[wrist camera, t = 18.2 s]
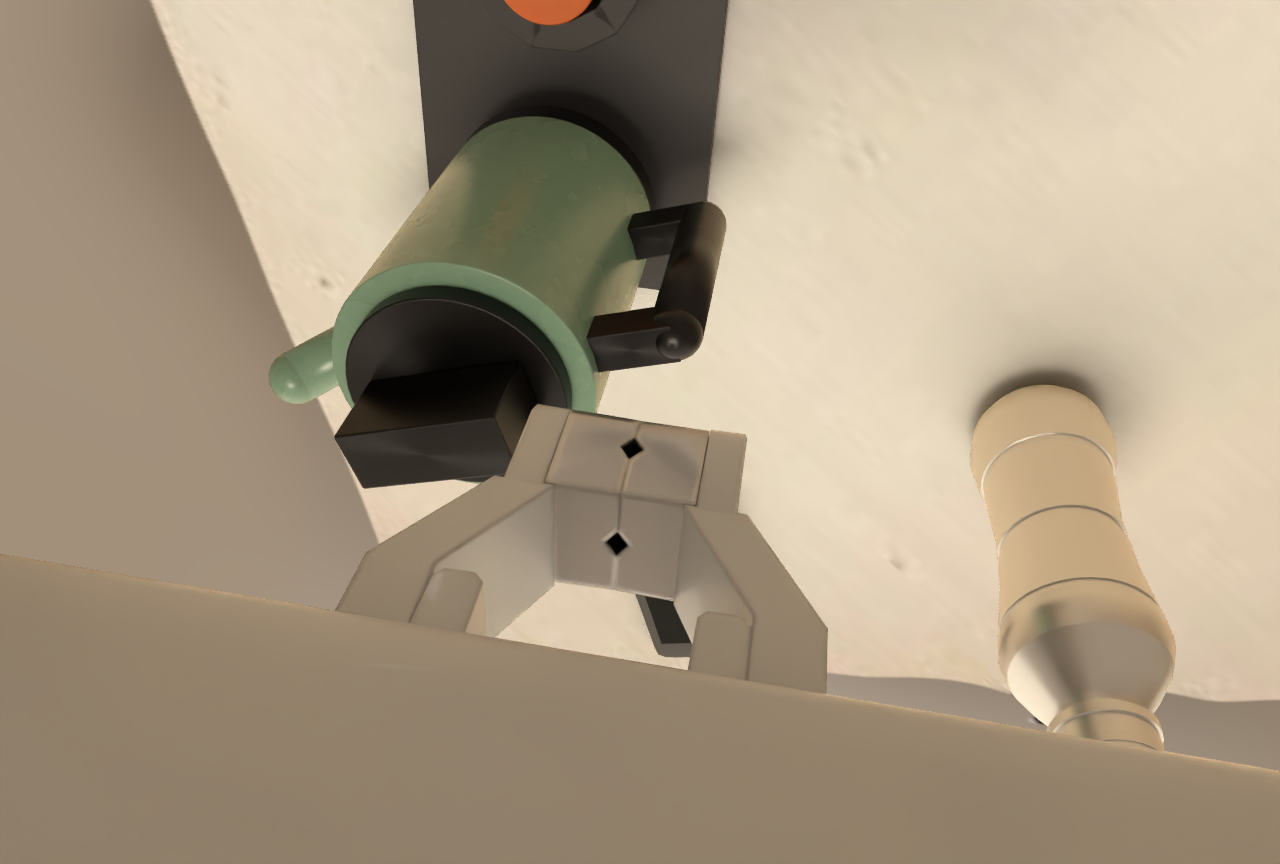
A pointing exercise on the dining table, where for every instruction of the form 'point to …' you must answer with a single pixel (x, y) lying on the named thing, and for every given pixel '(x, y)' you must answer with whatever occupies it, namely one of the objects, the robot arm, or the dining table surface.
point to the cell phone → (665, 627)
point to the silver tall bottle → (1069, 571)
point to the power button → (548, 10)
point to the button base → (581, 81)
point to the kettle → (507, 301)
